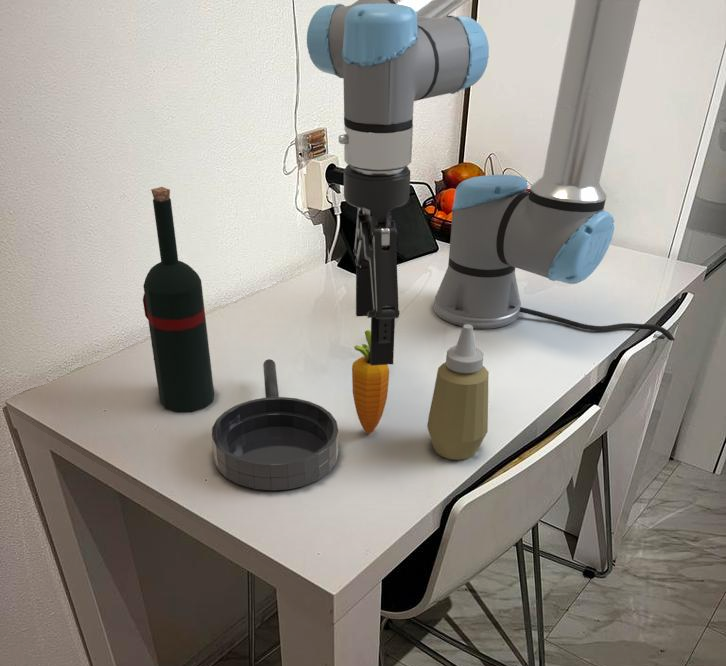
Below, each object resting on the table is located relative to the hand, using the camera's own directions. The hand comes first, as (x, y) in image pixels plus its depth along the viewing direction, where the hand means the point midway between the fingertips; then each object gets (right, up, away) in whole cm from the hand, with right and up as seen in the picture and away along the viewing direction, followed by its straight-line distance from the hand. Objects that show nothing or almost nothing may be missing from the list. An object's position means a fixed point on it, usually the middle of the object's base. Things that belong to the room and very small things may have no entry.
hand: (373, 338), depth 102 cm
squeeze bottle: (+11, -14, +6) cm, 19 cm away
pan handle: (-15, -5, +13) cm, 20 cm away
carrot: (-1, -12, +9) cm, 15 cm away
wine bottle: (-28, -6, +16) cm, 33 cm away
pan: (-13, -15, +4) cm, 20 cm away
